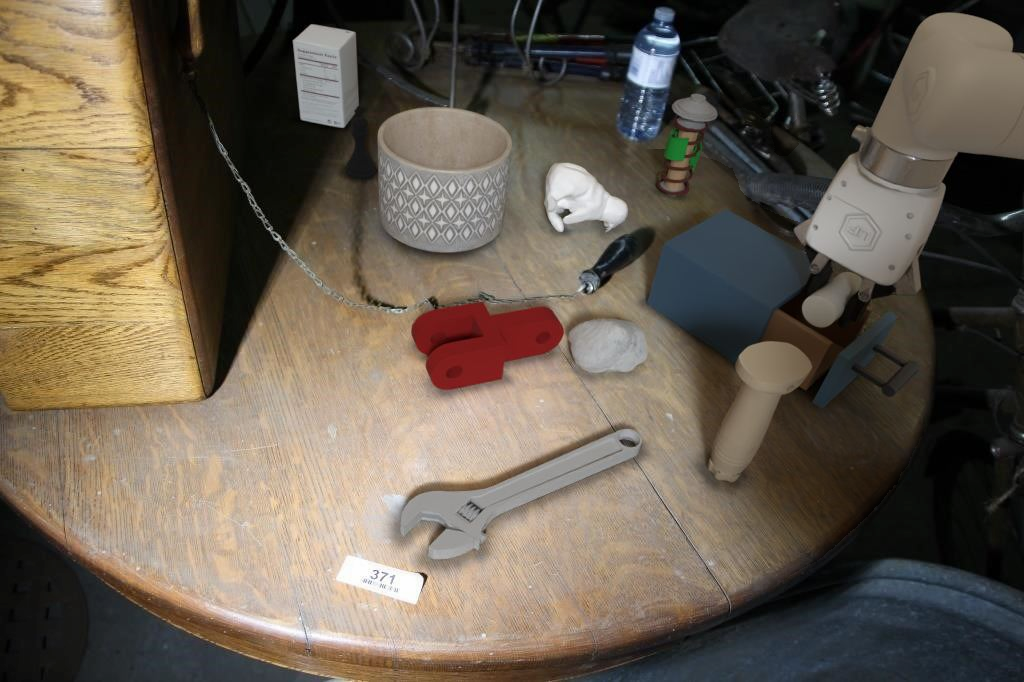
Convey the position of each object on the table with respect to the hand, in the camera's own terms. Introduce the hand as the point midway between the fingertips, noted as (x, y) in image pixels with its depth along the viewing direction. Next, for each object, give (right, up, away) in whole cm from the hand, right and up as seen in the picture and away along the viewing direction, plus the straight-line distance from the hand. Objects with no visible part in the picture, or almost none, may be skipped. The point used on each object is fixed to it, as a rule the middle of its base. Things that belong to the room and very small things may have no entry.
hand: (828, 310), depth 81 cm
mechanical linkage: (-37, -5, +1) cm, 37 cm away
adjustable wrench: (-32, -18, -12) cm, 39 cm away
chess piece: (-56, +21, +27) cm, 66 cm away
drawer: (0, -6, +4) cm, 7 cm away
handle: (-14, -16, -7) cm, 22 cm away
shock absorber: (-10, +19, +32) cm, 38 cm away
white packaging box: (-63, +33, +39) cm, 81 cm away
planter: (-44, +12, +19) cm, 49 cm away
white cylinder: (0, 0, 0) cm, 0 cm away
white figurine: (-25, +13, +23) cm, 36 cm away
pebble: (-24, -5, +3) cm, 25 cm away
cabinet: (-8, 0, +11) cm, 14 cm away
